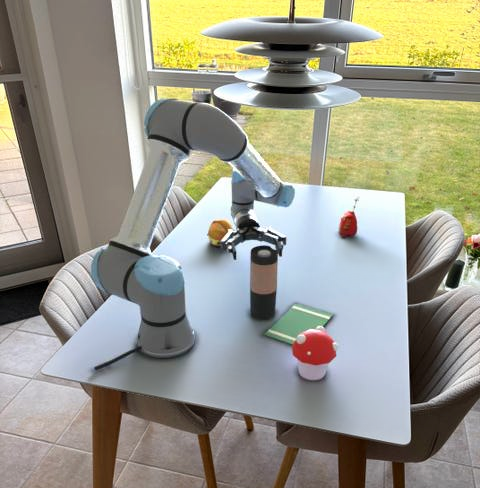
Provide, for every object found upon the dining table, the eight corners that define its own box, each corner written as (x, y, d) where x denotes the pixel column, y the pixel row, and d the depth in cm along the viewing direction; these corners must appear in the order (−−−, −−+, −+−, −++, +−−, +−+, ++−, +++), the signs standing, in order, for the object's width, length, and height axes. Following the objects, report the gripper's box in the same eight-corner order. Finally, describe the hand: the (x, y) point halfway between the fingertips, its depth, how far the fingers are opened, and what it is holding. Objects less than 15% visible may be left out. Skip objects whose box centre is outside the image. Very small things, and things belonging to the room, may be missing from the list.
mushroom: (331, 359, 130) (336, 320, 123) (336, 387, 121) (342, 347, 114) (290, 358, 130) (292, 319, 124) (292, 386, 121) (294, 346, 115)
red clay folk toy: (336, 231, 197) (340, 193, 189) (354, 230, 198) (358, 193, 189) (340, 239, 191) (344, 200, 183) (358, 238, 191) (363, 200, 183)
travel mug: (249, 320, 145) (249, 257, 134) (249, 305, 152) (250, 244, 141) (276, 320, 145) (278, 257, 134) (275, 306, 152) (278, 245, 140)
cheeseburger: (239, 237, 192) (238, 215, 185) (231, 255, 186) (229, 233, 178) (214, 234, 195) (211, 212, 187) (205, 251, 188) (202, 229, 181)
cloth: (303, 349, 134) (304, 348, 134) (264, 335, 139) (264, 334, 139) (332, 315, 147) (332, 314, 147) (295, 304, 152) (295, 303, 152)
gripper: (284, 233, 169) (299, 262, 152) (209, 238, 166) (216, 268, 149) (285, 212, 165) (300, 239, 148) (208, 216, 162) (215, 245, 145)
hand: (258, 254), depth 148 cm, fingers open, 13 cm apart
